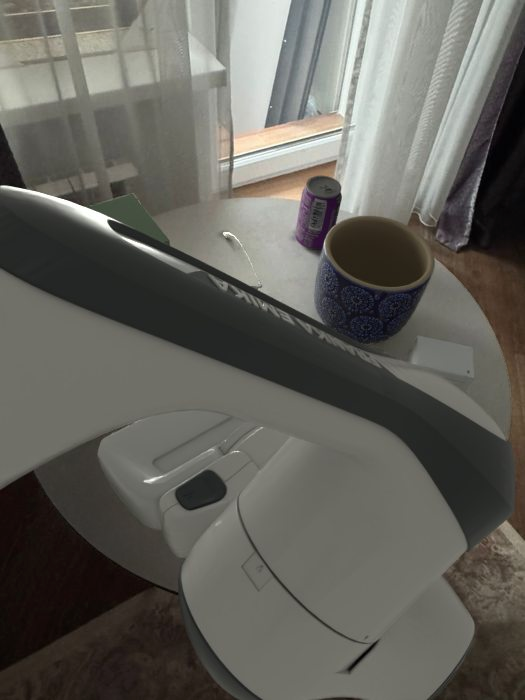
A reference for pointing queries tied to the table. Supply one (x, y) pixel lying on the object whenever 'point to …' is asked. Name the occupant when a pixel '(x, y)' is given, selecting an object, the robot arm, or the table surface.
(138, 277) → the robot arm
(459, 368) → the small box
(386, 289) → the planter
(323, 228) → the beverage can
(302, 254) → the table surface
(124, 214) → the door
